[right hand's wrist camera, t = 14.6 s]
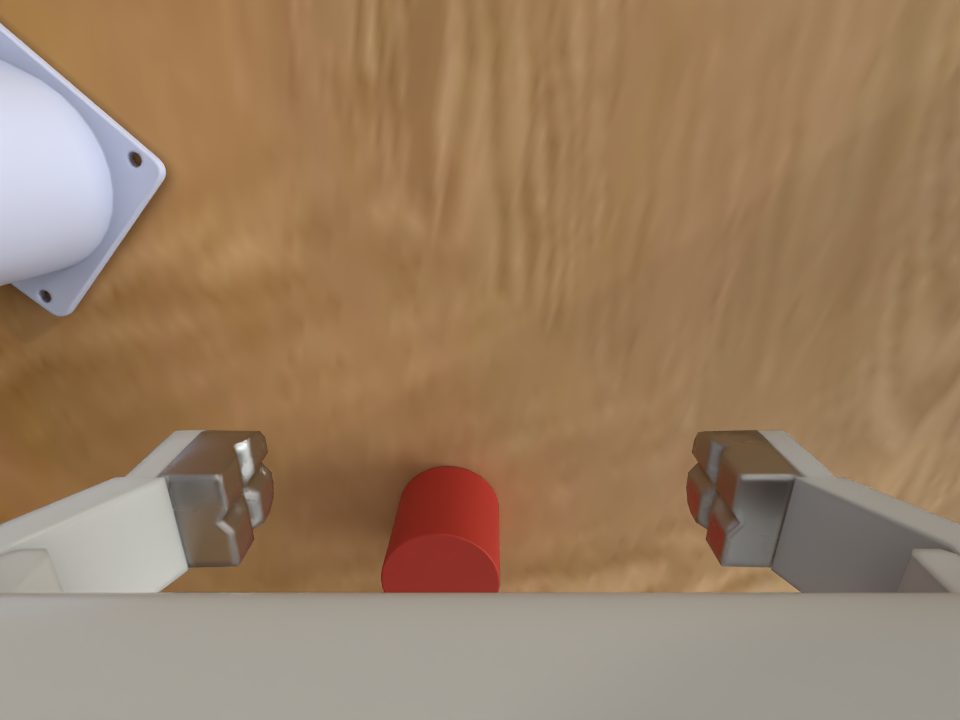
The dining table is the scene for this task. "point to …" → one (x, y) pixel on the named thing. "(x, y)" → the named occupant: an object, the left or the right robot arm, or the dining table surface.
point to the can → (444, 536)
